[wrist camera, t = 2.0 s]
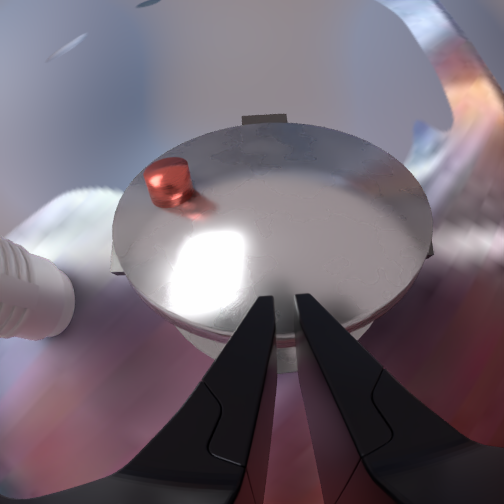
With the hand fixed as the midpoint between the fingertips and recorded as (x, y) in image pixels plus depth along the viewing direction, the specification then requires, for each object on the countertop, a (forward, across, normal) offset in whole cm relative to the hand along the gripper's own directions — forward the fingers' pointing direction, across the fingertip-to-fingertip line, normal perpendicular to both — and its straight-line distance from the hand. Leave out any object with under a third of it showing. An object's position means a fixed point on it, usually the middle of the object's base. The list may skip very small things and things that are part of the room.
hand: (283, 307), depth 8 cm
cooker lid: (+7, 0, 0) cm, 7 cm away
